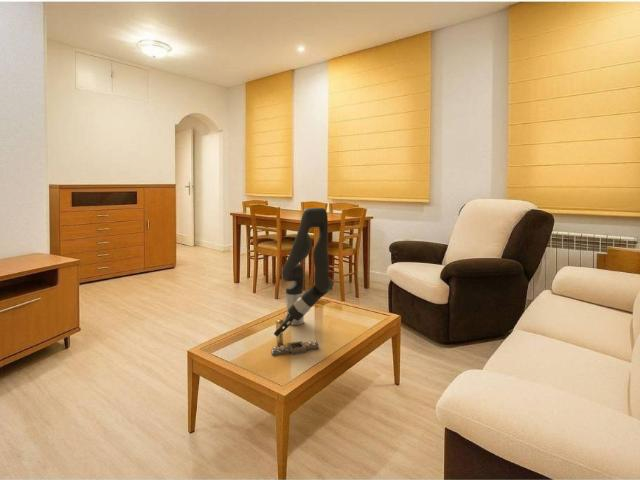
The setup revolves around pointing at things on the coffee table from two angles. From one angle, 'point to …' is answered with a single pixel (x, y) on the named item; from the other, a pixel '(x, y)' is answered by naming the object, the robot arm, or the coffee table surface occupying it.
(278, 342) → the pin
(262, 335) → the coffee table surface
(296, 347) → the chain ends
